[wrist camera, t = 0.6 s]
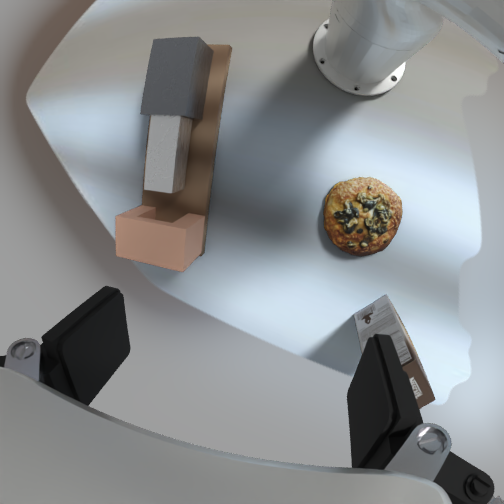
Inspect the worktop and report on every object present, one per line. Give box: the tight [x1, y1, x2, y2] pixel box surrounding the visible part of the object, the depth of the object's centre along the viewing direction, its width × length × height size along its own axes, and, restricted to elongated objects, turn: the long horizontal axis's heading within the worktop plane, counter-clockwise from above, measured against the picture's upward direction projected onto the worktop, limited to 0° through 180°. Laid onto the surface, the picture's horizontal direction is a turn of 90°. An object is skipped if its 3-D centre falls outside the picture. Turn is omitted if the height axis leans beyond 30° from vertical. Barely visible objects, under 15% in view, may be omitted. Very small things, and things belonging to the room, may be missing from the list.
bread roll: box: [323, 177, 402, 256], centre depth 37 cm, size 11×11×5 cm
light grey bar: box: [144, 115, 193, 193], centre depth 34 cm, size 18×4×4 cm, turn 172°
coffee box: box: [354, 295, 435, 409], centre depth 36 cm, size 9×6×16 cm
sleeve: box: [141, 37, 214, 120], centre depth 32 cm, size 10×6×6 cm, turn 172°
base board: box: [142, 45, 232, 256], centre depth 39 cm, size 30×10×2 cm, turn 172°
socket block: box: [116, 205, 205, 272], centre depth 39 cm, size 6×10×7 cm, turn 82°
